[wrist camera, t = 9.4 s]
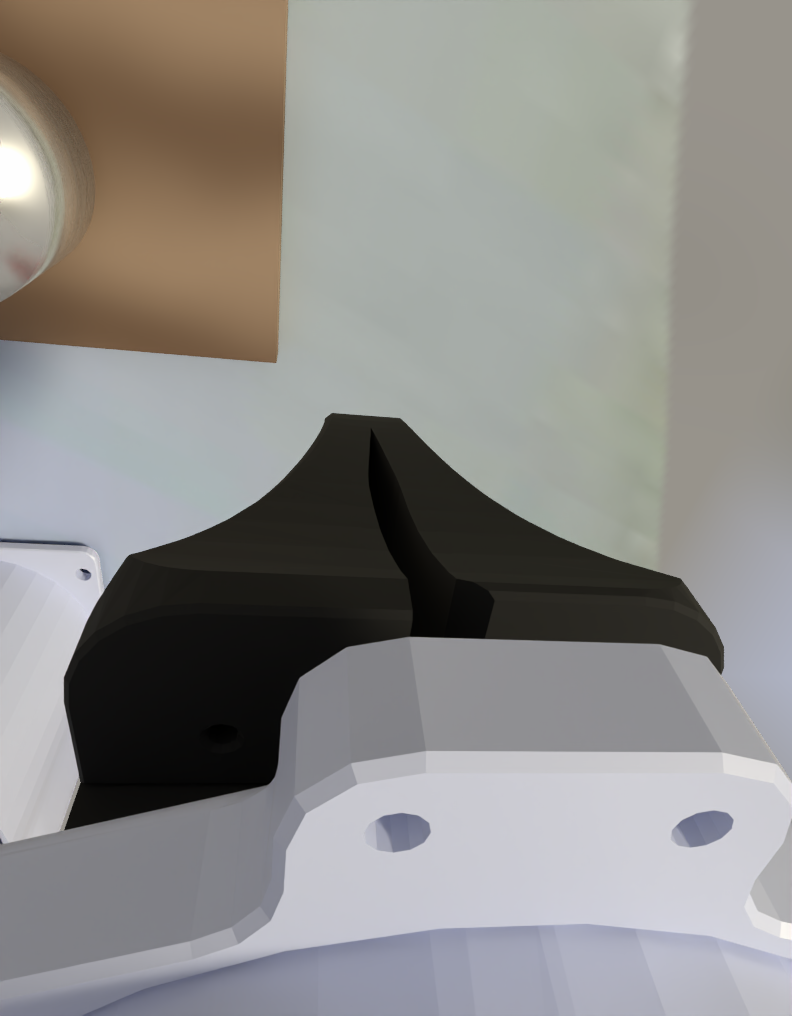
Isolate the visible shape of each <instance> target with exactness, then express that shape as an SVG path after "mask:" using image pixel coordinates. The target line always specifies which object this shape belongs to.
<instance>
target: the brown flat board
mask: <svg viewBox="0 0 792 1016" xmlns="http://www.w3.org/2000/svg"><path fill="white" fill-rule="evenodd" d="M287 20H288V0H0V52H1V53H3V54H5V55H7V56H9V57H11V58H12V59H14V60H15V61H17V62H18V63H20V64H22V65H23V66H25V67H26V68H27V69H29V70H30V71H31V72H32V73H34V74H35V75H36V76H37V77H39V78H40V79H41V80H42V81H43V82H44V83H45V84H46V85H47V86H48V87H49V88H50V89H51V90H52V91H53V92H54V93H55V95H56V96H57V97H58V98H59V99H60V101H61V102H62V103H63V104H64V106H65V107H66V109H67V110H68V112H69V113H70V114H71V116H72V117H73V119H74V121H75V123H76V124H77V126H78V128H79V130H80V132H81V134H82V136H83V139H84V141H85V143H86V146H87V148H88V151H89V155H90V158H91V162H92V166H93V172H94V178H95V202H94V210H93V214H92V218H91V221H90V224H89V226H88V229H87V231H86V233H85V235H84V236H83V238H82V240H81V241H80V243H79V244H78V245H77V246H76V248H75V249H74V250H73V251H72V252H71V253H70V254H68V255H67V256H66V257H65V258H64V259H62V260H61V261H59V262H58V263H57V264H55V265H54V266H52V267H51V268H50V269H48V270H47V271H45V272H44V273H43V274H41V275H40V276H38V277H37V278H35V279H34V280H33V281H31V282H30V283H28V284H27V285H26V286H24V287H23V288H21V289H20V290H19V291H17V292H16V293H14V294H13V295H11V296H10V297H8V298H6V299H5V300H3V301H1V302H0V340H10V341H22V342H34V343H46V344H57V345H69V346H81V347H93V348H105V349H117V350H128V351H140V352H152V353H164V354H176V355H188V356H200V357H211V358H223V359H235V360H247V361H259V362H271V363H276V361H277V355H278V330H279V296H280V261H281V227H282V192H283V158H284V124H285V89H286V55H287Z"/></svg>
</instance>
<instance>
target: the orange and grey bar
mask: <svg viewBox="0 0 792 1016" xmlns="http://www.w3.org/2000/svg"><path fill="white" fill-rule="evenodd" d="M94 202H95V178H94V172H93V166H92V162H91V158H90V155H89V151H88V148H87V146H86V143H85V141H84V139H83V136H82V134H81V132H80V130H79V128H78V126H77V124H76V123H75V121H74V119H73V117H72V116H71V114H70V113H69V112H68V110H67V109H66V107H65V106H64V104H63V103H62V102H61V101H60V99H59V98H58V97H57V96H56V95H55V93H54V92H53V91H52V90H51V89H50V88H49V87H48V86H47V85H46V84H45V83H44V82H43V81H42V80H41V79H40V78H39V77H37V76H36V75H35V74H34V73H32V72H31V71H30V70H29V69H27V68H26V67H25V66H23V65H22V64H20V63H18V62H17V61H15V60H14V59H12V58H11V57H9V56H7V55H5V54H3V53H1V52H0V302H1V301H3V300H5V299H6V298H8V297H10V296H11V295H13V294H14V293H16V292H17V291H19V290H20V289H21V288H23V287H24V286H26V285H27V284H28V283H30V282H31V281H33V280H34V279H35V278H37V277H38V276H40V275H41V274H43V273H44V272H45V271H47V270H48V269H50V268H51V267H52V266H54V265H55V264H57V263H58V262H59V261H61V260H62V259H64V258H65V257H66V256H67V255H68V254H70V253H71V252H72V251H73V250H74V249H75V248H76V246H77V245H78V244H79V243H80V241H81V240H82V238H83V236H84V235H85V233H86V231H87V229H88V226H89V224H90V221H91V218H92V214H93V210H94Z"/></svg>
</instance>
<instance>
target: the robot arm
mask: <svg viewBox="0 0 792 1016" xmlns="http://www.w3.org/2000/svg"><path fill="white" fill-rule="evenodd" d="M80 569H86V570H88V571H89V572H90V573H88V574H87V573H83V572H82V571H81V570H80ZM723 669H724V646H723V644H722V642H721V639H720V637H719V635H718V632H717V630H716V628H715V626H714V625H713V624H712V622H711V621H710V619H709V618H708V616H707V615H706V613H705V612H704V611H703V609H702V608H701V606H700V605H699V603H698V602H697V601H696V599H695V598H694V596H693V595H692V594H691V592H690V591H689V589H688V588H687V586H686V585H685V584H684V583H683V581H682V580H681V579H680V578H677V577H673V576H670V575H666V574H663V573H660V572H656V571H653V570H649V569H646V568H642V567H639V566H636V565H632V564H629V563H625V562H622V561H619V560H616V559H613V558H610V557H607V556H605V555H602V554H600V553H597V552H594V551H592V550H589V549H586V548H584V547H581V546H579V545H576V544H574V543H572V542H569V541H567V540H565V539H562V538H560V537H558V536H556V535H554V534H552V533H550V532H548V531H546V530H544V529H542V528H540V527H538V526H536V525H534V524H532V523H530V522H528V521H526V520H525V519H523V518H521V517H519V516H517V515H516V514H514V513H512V512H511V511H509V510H508V509H506V508H505V507H503V506H501V505H500V504H498V503H497V502H495V501H494V500H492V499H490V498H489V497H488V496H486V495H485V494H483V493H482V492H481V491H479V490H478V489H477V488H475V487H474V486H473V485H472V484H470V483H469V482H468V481H467V480H465V479H464V478H463V477H462V476H460V475H459V474H458V473H457V472H456V471H454V470H453V469H452V468H451V467H450V466H449V465H448V464H446V463H445V462H444V461H443V460H442V459H441V458H440V457H439V456H438V455H437V454H436V453H435V452H434V451H433V450H432V449H431V448H430V447H429V446H427V445H426V444H425V442H424V441H423V440H422V439H421V438H420V437H419V436H418V435H417V434H416V433H415V432H414V431H413V430H412V429H411V428H410V427H409V426H408V425H407V424H406V423H405V422H404V421H403V420H401V419H400V418H390V417H376V416H363V415H350V414H336V413H331V414H330V415H329V416H328V417H326V418H325V422H324V425H323V427H322V429H321V431H320V433H319V435H318V436H317V438H316V440H315V441H314V443H313V444H312V445H311V447H310V448H309V450H308V451H307V452H306V454H305V455H304V456H303V458H302V459H301V460H300V461H299V462H298V464H297V465H296V466H295V467H294V468H293V469H292V470H291V471H290V472H289V473H288V475H287V476H286V477H285V478H284V479H283V480H282V481H281V482H280V483H279V484H278V485H276V486H275V487H274V488H273V489H272V490H271V491H270V492H269V493H267V494H266V495H265V496H264V497H262V498H261V499H260V500H259V501H257V502H256V503H254V504H253V505H251V506H249V507H248V508H246V509H244V510H243V511H241V512H240V513H238V514H236V515H235V516H233V517H231V518H230V519H228V520H226V521H224V522H222V523H220V524H218V525H215V526H213V527H211V528H209V529H207V530H204V531H202V532H200V533H197V534H195V535H192V536H190V537H187V538H184V539H182V540H179V541H175V542H172V543H169V544H166V545H162V546H159V547H156V548H152V549H149V550H146V551H142V552H139V553H135V554H131V555H129V556H128V557H127V558H126V559H125V561H124V562H123V564H122V565H121V567H120V568H119V570H118V571H117V572H116V574H115V575H114V577H113V578H112V580H111V581H110V583H109V584H108V586H107V588H106V589H105V591H104V586H103V579H102V572H101V565H100V558H99V556H98V553H97V552H96V551H95V550H93V549H91V548H90V547H86V546H73V545H51V544H29V543H6V542H0V1016H792V781H791V780H790V778H789V777H788V776H787V774H786V772H785V771H784V769H783V768H782V766H781V765H780V763H779V762H778V760H777V759H776V757H775V756H774V754H773V752H772V751H771V749H770V748H769V746H768V745H767V743H766V742H765V740H764V739H763V737H762V736H761V734H760V733H759V731H758V730H757V728H756V727H755V725H754V723H753V722H752V720H751V719H750V717H749V716H748V714H747V713H746V711H745V710H744V708H743V707H742V705H741V704H740V702H739V701H738V699H737V698H736V696H735V695H734V693H733V691H732V690H731V688H730V687H729V685H728V684H727V683H726V681H725V680H724V679H723V677H722V676H721V674H722V671H723ZM78 777H79V778H80V782H81V783H80V786H79V789H78V792H77V795H76V798H75V801H74V803H73V806H72V810H71V812H70V815H69V818H68V821H67V824H66V827H65V830H64V831H60V828H61V826H62V823H63V820H64V817H65V814H66V812H67V809H68V806H69V803H70V800H71V797H72V794H73V792H74V789H75V786H76V783H77V780H78Z"/></svg>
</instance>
